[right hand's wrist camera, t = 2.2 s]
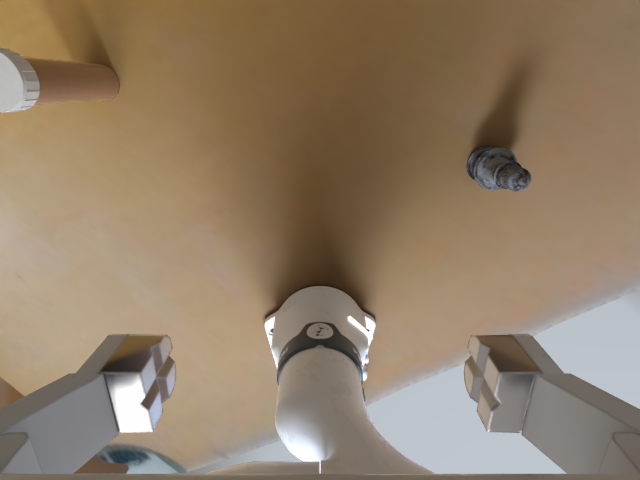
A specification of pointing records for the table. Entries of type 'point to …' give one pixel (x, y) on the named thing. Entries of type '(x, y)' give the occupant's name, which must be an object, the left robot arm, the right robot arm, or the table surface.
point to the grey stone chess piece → (497, 169)
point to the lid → (17, 82)
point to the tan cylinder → (73, 81)
